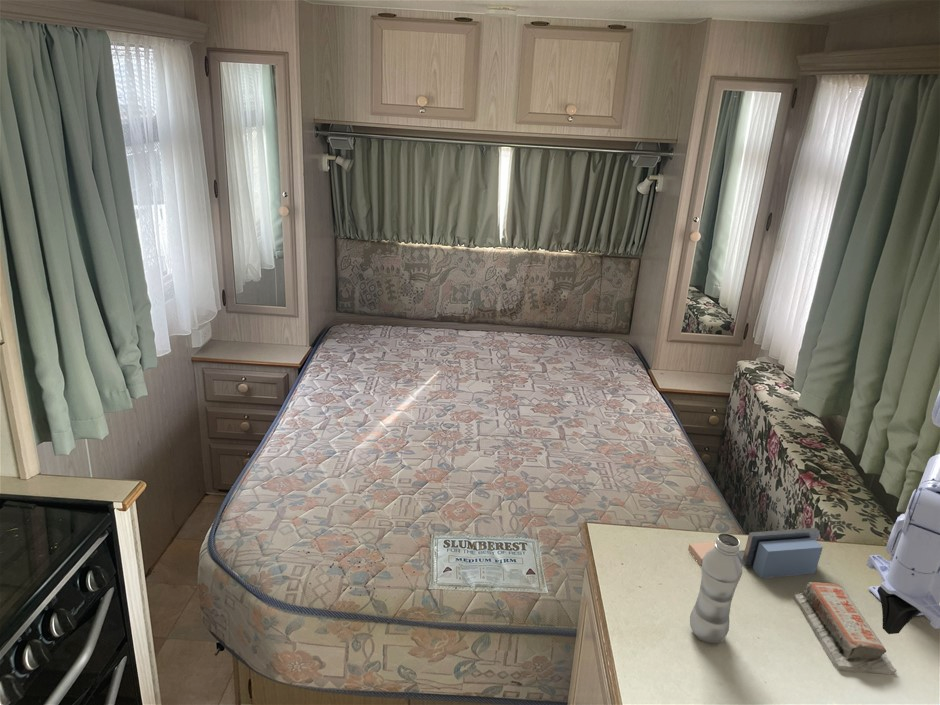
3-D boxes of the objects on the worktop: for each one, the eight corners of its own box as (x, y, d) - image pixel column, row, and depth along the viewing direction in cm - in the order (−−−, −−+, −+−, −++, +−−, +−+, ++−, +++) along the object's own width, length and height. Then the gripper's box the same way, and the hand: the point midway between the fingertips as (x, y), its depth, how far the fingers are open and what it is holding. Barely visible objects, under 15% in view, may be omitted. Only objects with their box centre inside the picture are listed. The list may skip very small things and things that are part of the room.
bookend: (798, 548, 145) (806, 518, 142) (810, 561, 141) (819, 531, 138) (733, 553, 142) (741, 523, 139) (744, 567, 138) (752, 536, 136)
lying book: (722, 548, 144) (724, 540, 144) (735, 564, 140) (737, 555, 139) (687, 551, 143) (689, 543, 142) (699, 567, 138) (701, 559, 137)
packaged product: (796, 577, 130) (849, 580, 130) (790, 597, 131) (842, 600, 131) (843, 651, 113) (903, 654, 113) (836, 673, 115) (895, 676, 115)
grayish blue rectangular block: (805, 564, 141) (813, 537, 138) (814, 573, 138) (822, 547, 135) (752, 568, 138) (759, 541, 136) (760, 578, 136) (768, 551, 133)
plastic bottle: (701, 651, 117) (724, 555, 109) (679, 622, 123) (700, 529, 115) (734, 645, 118) (758, 550, 111) (711, 617, 124) (733, 525, 117)
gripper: (860, 534, 111) (838, 600, 116) (930, 596, 98) (902, 668, 103) (897, 531, 113) (875, 597, 118) (972, 592, 100) (943, 664, 105)
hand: (890, 630), depth 111 cm, fingers closed
